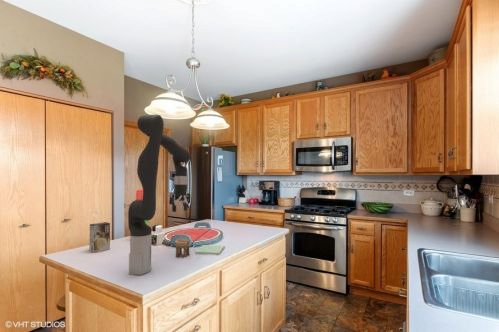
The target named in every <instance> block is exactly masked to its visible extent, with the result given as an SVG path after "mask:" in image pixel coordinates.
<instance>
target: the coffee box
mask: <svg viewBox="0 0 499 332" xmlns="http://www.w3.org/2000/svg"><path fill="white" fill-rule="evenodd" d="M110 249H111V222H107V221H103V222H96V223H89V250H88V251H89V252H90V253H93V254H97V253H100V252H101V253H102V252H105V251H109V250H110Z"/></svg>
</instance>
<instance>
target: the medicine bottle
mask: <svg viewBox="0 0 499 332" xmlns="http://www.w3.org/2000/svg"><path fill="white" fill-rule="evenodd" d="M151 229H152V237H151V246H154V247H155V246H156V247H157V246H160V245H163V244H162V242H163V240H164V239H165V240H166V232H164V231H163V225H161V224H155V225H153V226H152V227H151Z"/></svg>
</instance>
